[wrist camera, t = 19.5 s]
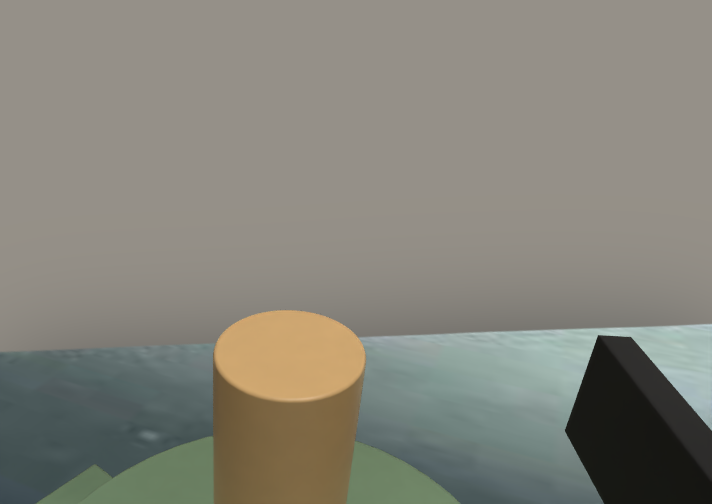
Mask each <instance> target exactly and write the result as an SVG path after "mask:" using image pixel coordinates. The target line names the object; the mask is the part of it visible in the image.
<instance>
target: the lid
mask: <svg viewBox="0 0 712 504" xmlns="http://www.w3.org/2000/svg"><path fill="white" fill-rule="evenodd" d="M365 365H366V354H365V350H364V347H363V345H362V343H361V341H360V340H359V339H358V337H357V336H356V335H355V334H354V333H353V332H352V331H351V330H350V329H348V328H347V327H345V326H344V325H342V324H341V323H339V322H337V321H335V320H333V319H330V318H328V317H325V316H322V315H318V314H315V313H310V312H303V311H294V310H280V311H269V312H264V313H259V314H255V315H252V316H249V317H246V318H244V319H242V320H240V321H238V322H236V323H234V324H233V325H231V326H230V327H229V328H227V329H226V330H225V331H224V332H223V333H222V335H221V336H220V337H219V339H218V341H217V342H216V345H215V348H214V353H213V436H210V437H206V438H202V439H199V440H196V441H192V442H189V443H186V444H182V445H179V446H176V447H174V448H172V449H169V450H167V451H164V452H162V453H159V454H157V455H154V456H152V457H150V458H148V459H146V460H144V461H142V462H140V463H138V464H137V465H135V466H133V467H131V468H129V469H127V470H125V471H123V472H122V473H120V474H119V475H117V476H116V477H114V478H112V479H111V480H109V481H108V482H106V483H105V484H103V485H102V486H100V487H98V488H97V489H96V490H95V491H93V492H92V493H91V494H89V495H88V496H87V497H86V498H84V499H83V500H82V501H80V502H79V503H78V504H460V503H459V502H458V501H457V500H456V499H455V498H454V497H453V496H452V495H451V494H450V493H449V492H447V491H446V490H445V489H444V488H442V487H441V486H440V485H438V484H437V483H436V482H434V481H433V480H432V479H431V478H429V477H428V476H427V475H425V474H423V473H422V472H420V471H419V470H417V469H415V468H414V467H412V466H411V465H409V464H407V463H406V462H404V461H402V460H400V459H398V458H396V457H394V456H392V455H390V454H388V453H386V452H384V451H382V450H379V449H377V448H374V447H371V446H369V445H366V444H363V443H361V442H358V441H355V437H356V430H357V423H358V416H359V409H360V401H361V394H362V387H363V380H364V373H365Z"/></svg>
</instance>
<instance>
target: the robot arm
mask: <svg viewBox="0 0 712 504" xmlns="http://www.w3.org/2000/svg"><path fill="white" fill-rule="evenodd" d="M565 432H566V434H567V436H568V438H569V439H570V441H571V443H572V445H573V447H574V449H575V451H576V452H577V454H578V456H579V458H580V460H581V462H582V463H583V465H584V467H585V469H586V471H587V473H588V475H589V476H590V478H591V480H592V482H593V484H594V486H595V487H596V489H597V491H598V493H599V495H600V497H601V499H602V500H603V502H604V504H712V431H711V430H710V428H709V427H708V426H707V425H706V424H705V423H704V421H703V420H702V419H701V418H700V417H699V416H698V414H697V413H696V412H695V411H694V410H693V409H692V407H691V406H690V405H689V404H688V403H687V402H686V400H685V399H684V398H683V397H682V396H681V395H680V393H679V392H678V391H677V390H676V389H675V388H674V387H673V385H672V384H671V383H670V382H669V381H668V380H667V378H666V377H665V376H664V375H663V374H662V373H661V371H660V370H659V369H658V368H657V367H656V366H655V364H654V363H653V362H652V361H651V360H650V359H649V357H648V356H647V355H646V354H645V353H644V352H643V350H642V349H641V348H640V347H639V346H638V345H637V343H636V342H635V341H634V340H633V339H632V338H631V337H619V336H601V335H598V337H597V340H596V343H595V346H594V349H593V352H592V354H591V357H590V360H589V363H588V366H587V369H586V372H585V375H584V377H583V380H582V383H581V386H580V389H579V392H578V395H577V398H576V400H575V403H574V406H573V409H572V412H571V415H570V418H569V421H568V423H567V426H566V429H565Z"/></svg>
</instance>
